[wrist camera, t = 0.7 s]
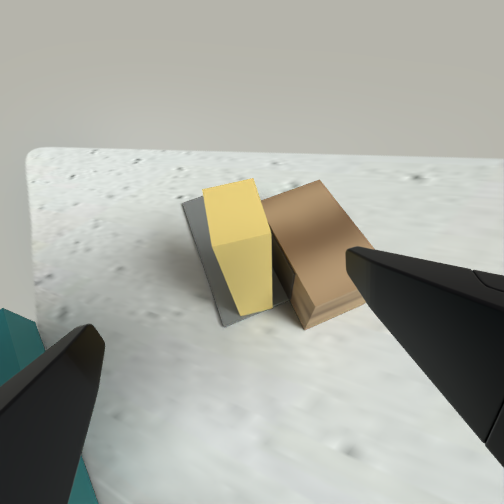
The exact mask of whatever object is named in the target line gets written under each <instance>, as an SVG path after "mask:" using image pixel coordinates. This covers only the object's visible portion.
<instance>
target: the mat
mask: <svg viewBox="0 0 504 504" xmlns="http://www.w3.org/2000/svg"><path fill="white" fill-rule="evenodd" d="M182 204H183V207H184V210H185V213H186V216H187V219H188V222H189V225H190V228H191V231H192V233H193V236H194V239H195V242H196V245H197V248H198V251H199V254H200V257H201V260H202V263H203V266H204V269H205V272H206V275H207V278H208V281H209V284H210V287H211V290H212V293H213V296H214V299H215V302H216V305H217V308H218V311H219V314H220V317H221V320H222V323H223V326H224V328H225V327H227V326H229V325H232V324H234V323H236V322H239V321H241V320H244V319H246V318H248V317H251V316H253V315H255V314H258V313H260V312H263V311H260V312H256V313H252V314H248V315H244V316H240V314H239V311H238V309H237V307H236V304H235V302H234V299H233V297H232V294H231V292H230V290H229V287H228V285H227V282H226V280H225V277H224V275H223V273H222V270H221V268H220V265H219V263H218V260H217V258H216V256H215V253H214V251H213V248H212V244H211V238H210V232H209V226H208V220H207V214H206V209H205V203H204V197H203V196H201V197H198V198H195V199H193V200H190V201H187V202H184V203H182ZM286 301H289V299H288V297H287V295H286V293H285V291H284V289H283V287H282V285H281V283H280V281H279V279H278V277H277V275H276V273H275V271H274V269H273V267H272V303H273V307H274V306H277V305H279V304H282V303H284V302H286ZM264 311H265V310H264Z"/></svg>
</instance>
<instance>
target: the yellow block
mask: <svg viewBox="0 0 504 504" xmlns="http://www.w3.org/2000/svg"><path fill="white" fill-rule="evenodd" d="M202 191H203V197H204V203H205V209H206V214H207V220H208V226H209V232H210V238H211V244H212V248H213V251H214V253H215V256H216V258H217V260H218V263H219V265H220V268H221V270H222V273H223V275H224V277H225V280H226V282H227V285H228V287H229V290H230V292H231V294H232V297H233V299H234V302H235V304H236V307H237V309H238V311H239V314H240V316H244V315H248V314H252V313H256V312H260V311H264V310H268V309H272V308H273V303H272V240H271V230H270V227H269V224H268V221H267V218H266V215H265V212H264V209H263V206H262V203H261V200H260V197H259V194H258V191H257V188H256V185H255V182H254V179H253V178H252V179H247V180H243V181H238V182H234V183H229V184H225V185H220V186H216V187H211V188H207V189H202Z"/></svg>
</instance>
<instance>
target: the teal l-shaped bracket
mask: <svg viewBox="0 0 504 504" xmlns="http://www.w3.org/2000/svg"><path fill="white" fill-rule="evenodd" d="M44 352H45V349H44V346H43V343H42V340H41V338H40V335H39V332H38V329H37V326H36V323H35V322H34V321H31V320H29V319H27V318H24V317H22V316H20V315H18V314H15V313H13V312H11V311H9V310H6V309H4V308H2V309H1V310H0V386H2V385H3V384H4V383H6V382H7V381H8V380H9V379H11V378H12V377H13V376H15V375H16V374H17V373H18V372H20V371H21V370H22V369H23V368H25V367H26V366H27V365H29V364H30V363H31V362H32V361H34V360H35V359H36V358H38V357H39V356H40V355H41V354H43V353H44ZM68 504H98V502H97V499H96V496H95V493H94V490H93V487H92V484H91V482H90V479H89V476H88V473H87V470H86V467H85V464H84V461H83V459H82V456H81V457H80V461H79V464H78V468H77V472H76V476H75V479H74V483H73V487H72V490H71V494H70V498H69V502H68Z"/></svg>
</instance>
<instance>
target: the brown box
mask: <svg viewBox="0 0 504 504" xmlns="http://www.w3.org/2000/svg"><path fill="white" fill-rule="evenodd" d="M261 203H262V206H263V209H264V212H265V215H266V218H267V221H268V224H269V227H270V230H271V240H272V267H273V269H274V271H275V273H276V275H277V277H278V279H279V281H280V283H281V285H282V287H283V289H284V291H285V293H286V295H287V297H288V299H289V300H290V302H291V304H292V306H293V308H294V310H295V312H296V314H297V316H298V318H299V320H300V322H301V324H302V326H303V328H304V330H307V329H309V328H311V327H313V326H316V325H318V324H320V323H322V322H325V321H327V320H329V319H331V318H334V317H336V316H338V315H341V314H343V313H345V312H347V311H350V310H352V309H354V308H356V307H359V306H361V305H363V304H365V303H366V301H365V300H364V298H363V297H362V295H361V294H360V292H359V291H358V289H357V288H356V286H355V285H354V283H353V282H352V280H351V279H350V277H349V276H348V274H347V271H346V259H345V252H346V250H347V249H349V248H352V247H355V246H360V247H365V248H370V249H374V248H373V246H372V245H371V244H370V243H369V241H368V240H367V239H366V238H365V236H364V235H363V234H362V233H361V231H360V230H359V229H358V227H357V226H356V225H355V224H354V222H353V221H352V220H351V219H350V217H349V216H348V215H347V214H346V212H345V211H344V210H343V208H342V207H341V206H340V205H339V203H338V202H337V201H336V200H335V198H334V197H333V196H332V195H331V193H330V192H329V191H328V189H327V188H326V187H325V186H324V184H323V183H322V182H321V181H320V180H317V181H314V182H312V183H309V184H306V185H303V186H301V187H298V188H295V189H292V190H289V191H287V192H284V193H281V194H278V195H275V196H273V197H270V198H267V199H264V200H261ZM374 250H375V249H374Z"/></svg>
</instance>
